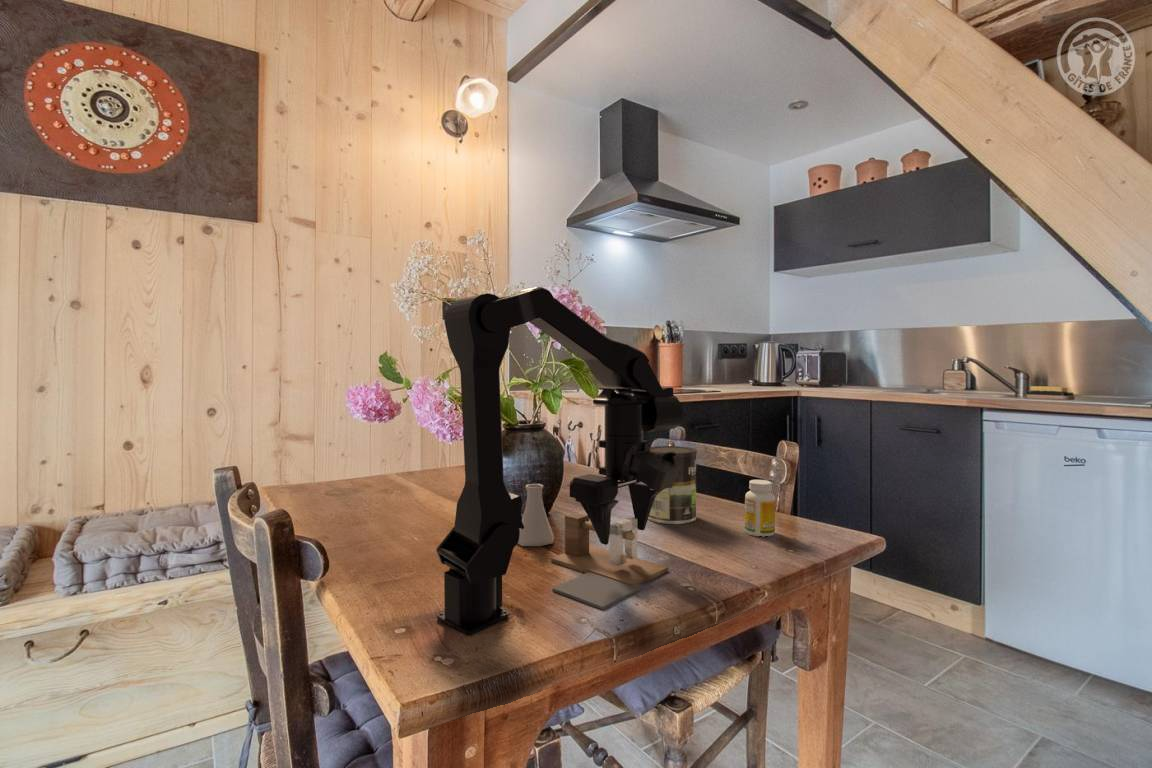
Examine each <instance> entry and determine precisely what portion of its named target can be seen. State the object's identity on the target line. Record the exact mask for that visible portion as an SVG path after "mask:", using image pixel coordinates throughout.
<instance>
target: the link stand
mask: <svg viewBox="0 0 1152 768" xmlns="http://www.w3.org/2000/svg"><path fill="white" fill-rule="evenodd" d="M590 531H592V532H595V529H594V527H593V525H592V523H591V521H590V519H589V517H588V515H587V513H582V512H578V511H577V512H573V513H569V514H566V515H564V553H561V554H558V555H556V556H553V557H551V558H550V559H551V561H550V562H551V563H554V564H557V565H560V566H561V567H562V566H563V567H567V568H569V569H572V570H576V571H577V572H578V571H579V572H581V573H583V574H586V573H588V572H592V573H595V574H598V575H601V576H604V577H607V578H610V579H613V580H616V581H619V582H623V583H626V584H629V585H632V586H634V585H636V584H639V585H643V584H645V583H647V582H650V581H651V580H653V579H656V578H657V577H659V576H661V575H663V574H665V573H666V572H668V571H669V566H666V565H662V564H659V563H656V562H653V561H652V562H651V561H648V560H645V559H641V558H638V557H637V558H634V559H628V558H626V563H624V564H622V565H619V566H615V565H612V564H610V549H606V548H602V547H599V546H595V545H592V544H590ZM634 538H635V535H634V533H632V532H629V531H628V532H625V533H623V540H625V539H627V540H633V539H634Z"/></svg>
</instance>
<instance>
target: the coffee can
mask: <svg viewBox="0 0 1152 768" xmlns="http://www.w3.org/2000/svg"><path fill="white" fill-rule="evenodd" d="M672 451H673V452H675V453H677V454H679V455H680V459H681V469H680V470H681V471H682V474H681V475H680V476H677V477H676V478H675V481H674V484H673V487H672V488H666V489H664V490H662V491H661V492H660V493H659V494H658V495H657V496H656V497H655V500H654V502H653V505H652V508H651V511H650V514H649V517H648V521H651V522H653V523H657V524H665V525H685V524H686V523H687V524H691V523H694V522H695V521H696V520H697V453H698V451H697V449H696V448H694V447H687V446H678V445H660V446H658V445H657V446H656V445H655V446H650V452H651V453H653V454H655V455H658V454H660V455H662V456H663V455H664V454H665V453H667V452H672ZM662 456H661V457H662ZM693 521H694V522H693ZM690 522H691V523H690Z"/></svg>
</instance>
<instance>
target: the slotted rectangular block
mask: <svg viewBox="0 0 1152 768" xmlns="http://www.w3.org/2000/svg"><path fill="white" fill-rule="evenodd" d="M628 531H629V532H632V533H634V535H635V538H634V539H633V540H627V539H623V533H625V532H628ZM609 548H610V549H609V550H610V564H612V565H615V566H619V565H622V564H624V563H626V558H628V559H634V558H638V556H639V555H638V528H637V518H635V517H632V516H631V517H630V516H628V517H626V518H624V519H621V520H619V521H616V522H613V523H610V535H609Z"/></svg>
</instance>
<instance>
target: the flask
mask: <svg viewBox="0 0 1152 768" xmlns="http://www.w3.org/2000/svg"><path fill="white" fill-rule="evenodd" d="M543 489H544V484H542V483H531V484H529V483H528V484H526V485H525V490H526V492H527V493H526V494H527V495H526V502H525V508H524V511H523V514H522V516H521V518H522V523H523V525H524V529H521V528H520V537H519V542H518V544H517V545H520V546H522V547H542V546H546V545H552V544H554V541H555V535H554V532H553V530H552V527H551V524H550V522H549V520H548V519H549V518H548V516H547V513H546V509H545V507H544V500H543V496H542V495H543Z"/></svg>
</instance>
